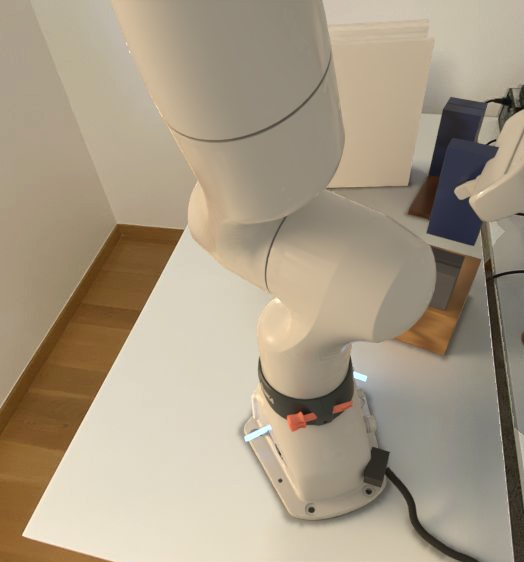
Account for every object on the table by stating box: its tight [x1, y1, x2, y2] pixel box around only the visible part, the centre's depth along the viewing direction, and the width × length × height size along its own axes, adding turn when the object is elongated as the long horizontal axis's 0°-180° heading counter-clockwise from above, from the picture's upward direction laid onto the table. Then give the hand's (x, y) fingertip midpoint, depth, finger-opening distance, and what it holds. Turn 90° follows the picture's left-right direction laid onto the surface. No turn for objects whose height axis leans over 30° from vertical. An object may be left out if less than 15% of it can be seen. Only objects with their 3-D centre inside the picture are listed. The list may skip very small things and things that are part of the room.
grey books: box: [429, 247, 465, 311], centre depth 71 cm, size 6×4×8 cm, turn 62°
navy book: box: [426, 138, 499, 247], centre depth 68 cm, size 7×2×14 cm, turn 61°
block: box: [326, 18, 436, 189], centre depth 97 cm, size 35×8×28 cm, turn 86°
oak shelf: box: [394, 243, 483, 357], centre depth 80 cm, size 10×14×9 cm
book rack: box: [407, 96, 489, 220], centre depth 96 cm, size 7×18×15 cm, turn 151°
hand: (461, 184), depth 67 cm, fingers closed on navy book, 2 cm apart
